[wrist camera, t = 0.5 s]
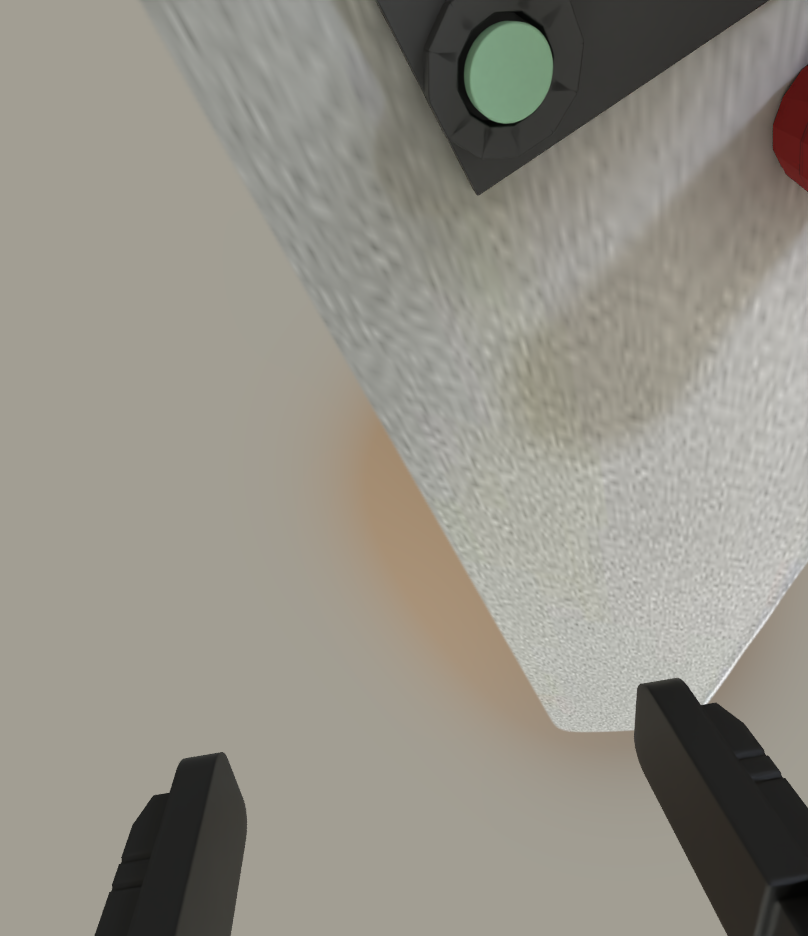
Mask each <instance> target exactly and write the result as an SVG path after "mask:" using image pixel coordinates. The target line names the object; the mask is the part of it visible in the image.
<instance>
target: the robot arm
mask: <svg viewBox="0 0 808 936" xmlns="http://www.w3.org/2000/svg"><path fill="white" fill-rule="evenodd" d="M634 742H635V748H636V752H637V756H638V759H639V763H640V765H641V768H642V770H643V772H644V774H645V776H646V778H647V780H648V782H649V784H650V786H651V788H652V790H653V792H654V794H655V795H656V798H657V799H658V801H659V803H660V805H661V807H662V809H663V811H664V813H665V815H666V817H667V819H668V821H669V823H670V824H671V826H672V828H673V830H674V833H675V834H676V836H677V838H678V840H679V842H680V844H681V846H682V848H683V850H684V852H685V854H686V856H687V857H688V860H689V862H690V863H691V865H692V867H693V869H694V871H695V873H696V875H697V877H698V879H699V881H700V883H701V885H702V887H703V889H704V891H705V893H706V895H707V896H708V898H709V900H710V902H711V904H712V906H713V908H714V910H715V912H716V914H717V916H718V918H719V920H720V922H721V924H722V926H723V927H724V929H725V931H726V933H727V935H728V936H808V808H807V806H806V805H805V804H804V802H803V801H802V800H801V798H800V797H799V796H798V794H797V793H796V792H795V790H794V789H793V788H792V787H791V785H790V784H789V783H788V781H787V780H786V779H785V778H783V777H782V776H781V772H780V771H779V769H778V768H777V767H776V765H775V764H774V763H773V761H772V760H771V759H770V757H769V756H766V755H765V753H764V749H763V748H762V747H761V745H760V744H759V743H758V742H757V740H756V739H755V737H754V736H753V735H752V733H751V732H750V731H749V729H748V728H747V727H746V726H745V724H744V723H743V722H741V721H740V720H739V719H737V718H736V717H734V716H733V715H732V714H731V713H729V712H728V711H727V710H725V709H724V708H723V707H721V706H720V705H719V704H717V703H711V704H705V705H700V703H699V702H698V700H697V699H696V697H695V696H694V695H693V693H692V692H691V690H690V689H689V687H688V686H687V685H686V683H685V682H684V681H682V680H681V679H679V678H673V679H667V680H661V681H655V682H649V683H643V684H640V685H639V686H638V688H637V699H636V715H635V730H634ZM246 833H247V816H246V808H245V803H244V800H243V797H242V795H241V792H240V789H239V787H238V784H237V782H236V779H235V776H234V774H233V771H232V769H231V766H230V764H229V761H228V759H227V756H226V755H225V754H224V753H223V752H220V753H215V754H209V755H203V756H197V757H191V758H185V759H183V760H182V761H181V762H180V763H179V765H178V767H177V770H176V773H175V777H174V780H173V783H172V787H171V790H170V793H166V794H159V795H154V796H153V797H152V798H151V800H150V801H149V802H148V804H147V806H146V807H145V808H144V810H143V811H142V812H141V814H140V815H139V817H138V818H137V820H136V821H135V822H134V824H133V825H132V828H131V831H130V834H129V837H128V840H127V843H126V846H125V849H124V852H123V854H122V857H121V858H122V862H121V864H119V866H118V869H117V872H116V875H115V878H114V881H113V884H112V891H111V892H109V895H108V898H107V901H106V904H105V907H104V910H103V913H102V916H101V919H100V921H99V924H98V927H97V930H96V933H95V936H230V935H231V930H232V924H233V917H234V911H235V905H236V898H237V892H238V885H239V879H240V873H241V867H242V861H243V854H244V848H245V841H246Z"/></svg>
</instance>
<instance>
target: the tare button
mask: <svg viewBox="0 0 808 936" xmlns="http://www.w3.org/2000/svg"><path fill="white" fill-rule="evenodd" d="M552 75H553V58H552V52H551V49H550V46H549V44H548V42H547V40H546V38H545V37H544V35H543V34H542V33H541V32H540V31H539V30H538V29H537V28H535V27H534V26H532V25H530V24H527V23H524V22H518V21H501V22H498V23H495V24H493V25H491V26H489V27H488V28H486V29H485V30H484V31H483V32H481V33H480V35H479V36H478V37H477V38H476V39H475V41H474V42H473V44H472V46H471V47H470V50H469V52H468V54H467V58H466V61H465V66H464V83H465V88H466V92H467V95H468V97H469V99H470V101H471V103H472V104H473V105H474V107H475V108H476V109H477V110H478V111H480V112H481V113H482V114H483V115H484V116H486V117H487V118H488V119H490V120H492V121H495V122H498V123H504V124H508V123H515V122H518V121H520V120H523V119H525V118H526V117H528V116H529V115H531V114H532V113H533V112H534V111H535V110H536V109H537V108H538V107H539V106H540V104H541V103H542V101H543V100H544V98H545V96H546V94H547V92H548V90H549V87H550V84H551V80H552Z"/></svg>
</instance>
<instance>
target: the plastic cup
mask: <svg viewBox="0 0 808 936" xmlns="http://www.w3.org/2000/svg"><path fill="white" fill-rule="evenodd" d="M773 150H774V152H775V154H776V156H777V158H778V160H779V163H780V165H781V167H782V168H783V169H784V171H785V173H786V174H787V175H788V176H789V177H790V178H791V179H793V180H794V181H795V182H796V183H798V184H799V185H800V186H801V187H803V188H804V189H805V190H806V191H807V192H808V65H807V66H806V67H805V68H804V69H802V70H801V72H800V73H799V75H798V76H797V78H796V79H795V80H794V82H793V83H792V85H791V86H790V88H789V89H788V91H787V92H786V94H785V95H784V96H783V98H782V101H781V104H780V107H779V110H778V113H777V115H776V118H775V121H774V124H773Z"/></svg>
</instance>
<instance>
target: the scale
mask: <svg viewBox="0 0 808 936" xmlns="http://www.w3.org/2000/svg"><path fill="white" fill-rule="evenodd" d="M767 1H769V0H376V2H377V4H378V6H379V8H380V10H381V12H382V14H383V16H384V18H385V19H386V21H387V23H388V25H389V27H390V29H391V31H392V33H393V35H394V37H395V39H396V41H397V43H398V45H399V47H400V48H401V50H402V52H403V54H404V56H405V58H406V60H407V62H408V64H409V66H410V68H411V70H412V72H413V74H414V76H415V78H416V79H417V81H418V83H419V85H420V87H421V89H422V91H423V93H424V95H425V98H426V100H427V102H428V104H429V106H430V108H431V109H432V111H433V113H434V115H435V117H436V119H437V121H438V123H439V125H440V127H441V129H442V131H443V132H444V134H445V136H446V138H447V139H448V141H449V143H450V145H451V147H452V149H453V151H454V153H455V155H456V157H457V159H458V161H459V163H460V165H461V167H462V168H463V170H464V172H465V174H466V176H467V178H468V180H469V182H470V184H471V186H472V188H473V190H474V191H475V193H476V194H477V195H480V194H481V193H483V192H484V191H486V190H487V189H489V188H490V187H492V186H493V185H495V184H496V183H498V182H499V181H501V180H502V179H504V178H505V177H507V176H508V175H510V174H511V173H513V172H514V171H516V170H517V169H519V168H520V167H522V166H523V165H525V164H526V163H528V162H529V161H531V160H532V159H534V158H535V157H537V156H538V155H539V154H541V153H542V152H544V151H545V150H547V149H548V148H550V147H551V146H553V145H554V144H556V143H557V142H559V141H560V140H562V139H563V138H565V137H566V136H568V135H569V134H571V133H572V132H574V131H575V130H577V129H578V128H580V127H581V126H583V125H584V124H586V123H587V122H589V121H590V120H592V119H593V118H595V117H596V116H598V115H599V114H601V113H602V112H603V111H605V110H606V109H608V108H609V107H611V106H612V105H614V104H615V103H617V102H618V101H620V100H621V99H623V98H624V97H626V96H627V95H629V94H630V93H632V92H633V91H635V90H636V89H638V88H639V87H641V86H642V85H644V84H645V83H647V82H648V81H650V80H651V79H653V78H654V77H656V76H657V75H659V74H660V73H662V72H663V71H664V70H666V69H667V68H669V67H670V66H672V65H673V64H675V63H676V62H678V61H679V60H681V59H682V58H684V57H685V56H687V55H688V54H690V53H691V52H693V51H694V50H696V49H697V48H699V47H700V46H702V45H703V44H705V43H706V42H708V41H709V40H711V39H712V38H714V37H715V36H717V35H718V34H720V33H721V32H723V31H724V30H725V29H727V28H728V27H730V26H731V25H733V24H734V23H736V22H737V21H739V20H740V19H742V18H743V17H745V16H746V15H748V14H749V13H751V12H752V11H754V10H755V9H757V8H758V7H760V6H761V5H763V4H764V3H766V2H767ZM501 21H518V22H524V23H527V24H530V25H532V26H534V27H535V28H537V29H538V30H539V31H540V32H541V33H542V34H543V35H544V37H545V38H546V40H547V42H548V44H549V46H550V49H551V52H552V58H553V75H552V80H551V84H550V87H549V90H548V92H547V94H546V96H545V98H544V100H543V101H542V103H541V104H540V106H539V107H538V108H537V109H536V110H535V111H534V112H533V113H532V114H531V115H529V116H528V117H526V118H525V119H523V120H520V121H518V122H515V123H508V124H504V123H498V122H495V121H492V120H490V119H488V118H487V117H486V116H484V115H483V114H482V113H481V112H480V111H478V110H477V109H476V108H475V107H474V105H473V104H472V103H471V101H470V99H469V97H468V95H467V92H466V88H465V83H464V66H465V61H466V58H467V54H468V52H469V50H470V47H471V46H472V44H473V42H474V41H475V39H476V38H477V37H478V36H479V35H480V33H481V32H483V31H484V30H485V29H486V28H488V27H489V26H491V25H493V24H495V23H498V22H501Z"/></svg>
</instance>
